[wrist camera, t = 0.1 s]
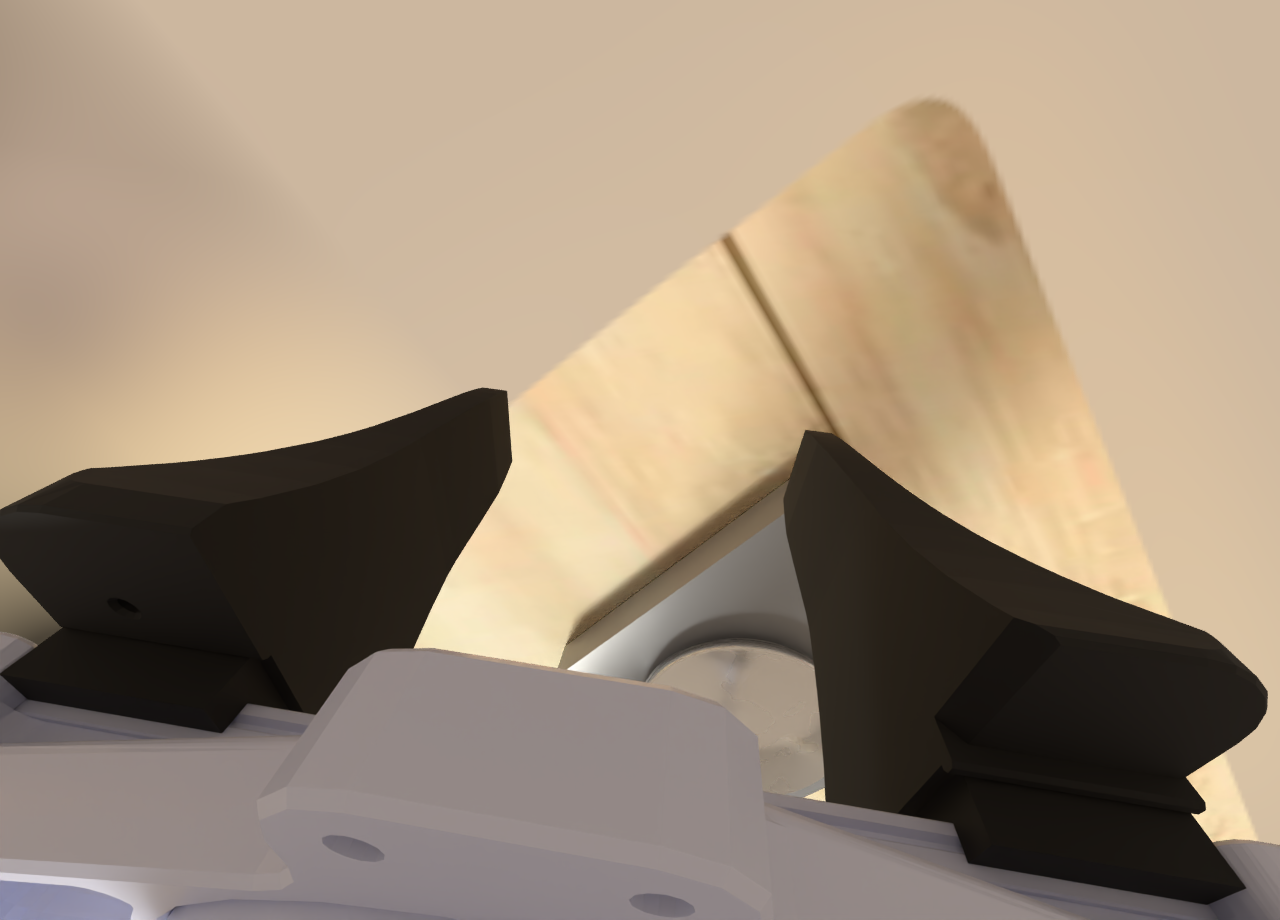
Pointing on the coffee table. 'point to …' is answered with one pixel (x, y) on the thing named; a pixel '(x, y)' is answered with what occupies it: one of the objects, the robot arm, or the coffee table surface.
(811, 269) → the coffee table surface
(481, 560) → the coffee table surface
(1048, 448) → the coffee table surface
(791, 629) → the scale base
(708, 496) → the coffee table surface
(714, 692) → the pan
